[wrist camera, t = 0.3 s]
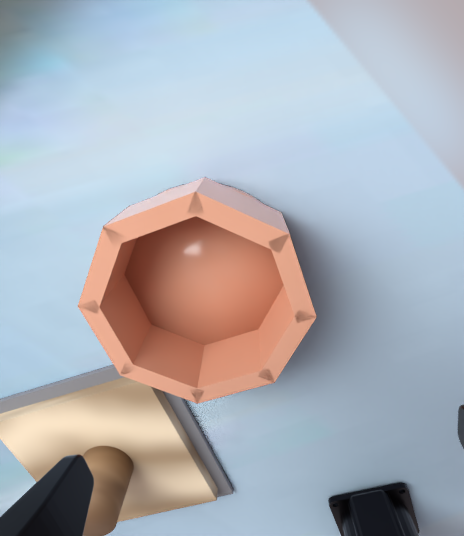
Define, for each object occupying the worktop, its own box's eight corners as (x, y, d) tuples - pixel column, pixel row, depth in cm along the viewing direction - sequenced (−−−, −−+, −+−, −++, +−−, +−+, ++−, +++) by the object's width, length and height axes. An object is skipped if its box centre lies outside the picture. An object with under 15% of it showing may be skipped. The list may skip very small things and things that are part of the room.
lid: (217, 488, 30) (212, 556, 25) (82, 518, 32) (55, 586, 27) (149, 369, 25) (128, 426, 20) (-3, 414, 27) (-54, 475, 22)
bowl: (315, 317, 23) (333, 367, 19) (163, 362, 25) (146, 417, 20) (261, 152, 19) (267, 164, 15) (86, 220, 21) (42, 249, 17)
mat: (233, 488, 30) (232, 493, 30) (80, 522, 33) (78, 527, 32) (158, 351, 25) (156, 354, 24) (-18, 404, 27) (-22, 408, 27)
